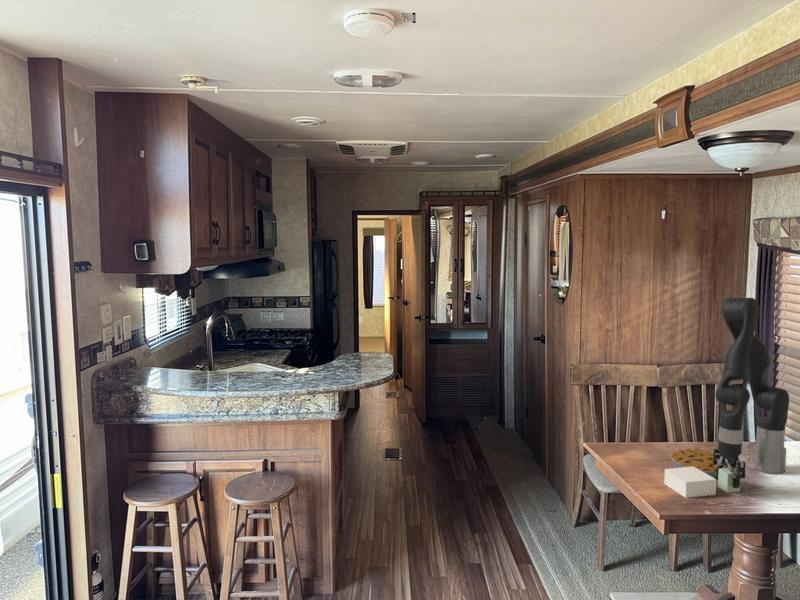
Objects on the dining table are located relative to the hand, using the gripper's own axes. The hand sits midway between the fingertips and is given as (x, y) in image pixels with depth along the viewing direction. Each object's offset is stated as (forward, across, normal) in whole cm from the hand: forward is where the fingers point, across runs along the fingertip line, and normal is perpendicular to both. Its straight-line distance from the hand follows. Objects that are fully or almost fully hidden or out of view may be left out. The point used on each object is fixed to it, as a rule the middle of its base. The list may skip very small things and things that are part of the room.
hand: (727, 482), depth 206 cm
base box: (+3, +2, +14) cm, 14 cm away
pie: (+3, +19, -2) cm, 19 cm away
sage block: (+3, 0, 0) cm, 3 cm away
